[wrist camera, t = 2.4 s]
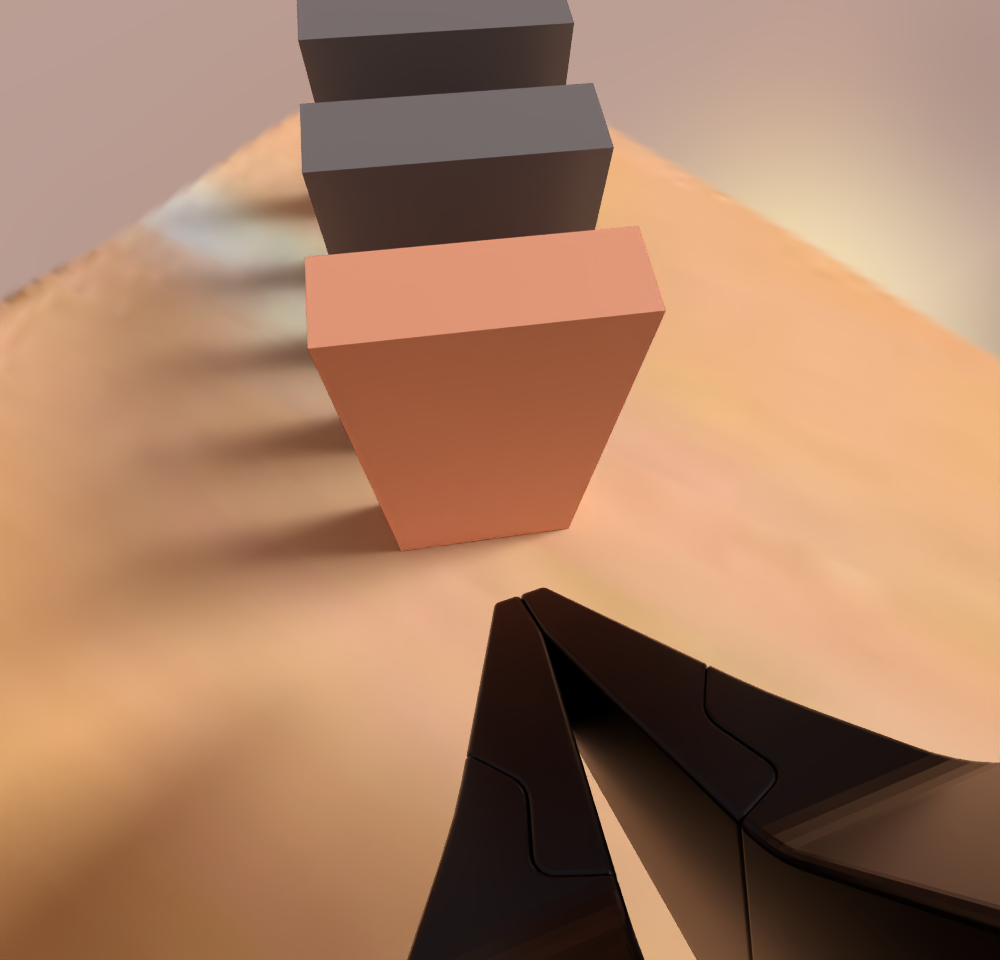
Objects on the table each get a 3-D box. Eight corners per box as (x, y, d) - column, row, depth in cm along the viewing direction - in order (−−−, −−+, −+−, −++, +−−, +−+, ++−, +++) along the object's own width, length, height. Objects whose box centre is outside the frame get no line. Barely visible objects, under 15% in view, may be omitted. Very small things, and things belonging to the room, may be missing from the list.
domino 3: (568, 528, 17) (665, 310, 8) (401, 551, 17) (307, 348, 8) (558, 479, 18) (638, 225, 9) (396, 500, 18) (304, 256, 8)
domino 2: (548, 431, 19) (613, 147, 10) (392, 450, 18) (302, 172, 9) (539, 388, 19) (593, 82, 10) (388, 406, 19) (299, 104, 10)
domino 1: (530, 346, 20) (573, 22, 11) (384, 362, 20) (298, 39, 10) (523, 308, 21) (558, -29, 11) (380, 323, 20) (296, -15, 11)
